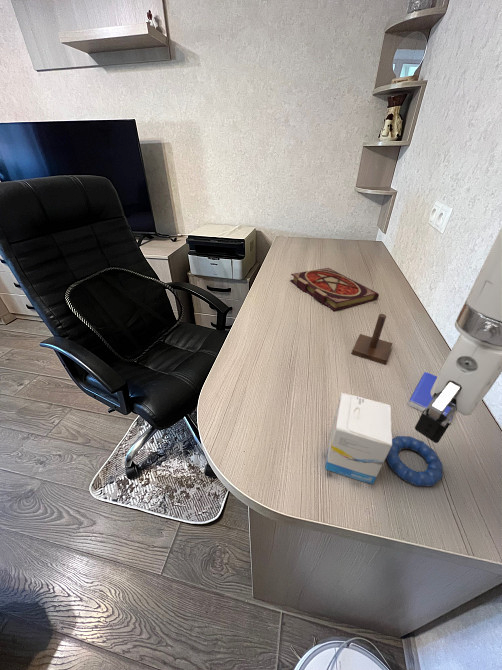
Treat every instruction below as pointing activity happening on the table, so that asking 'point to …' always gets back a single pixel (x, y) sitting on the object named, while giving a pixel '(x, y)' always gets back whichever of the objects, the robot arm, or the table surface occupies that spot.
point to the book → (333, 288)
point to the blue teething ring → (410, 475)
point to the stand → (373, 344)
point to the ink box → (359, 438)
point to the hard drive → (424, 394)
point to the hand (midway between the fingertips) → (440, 417)
